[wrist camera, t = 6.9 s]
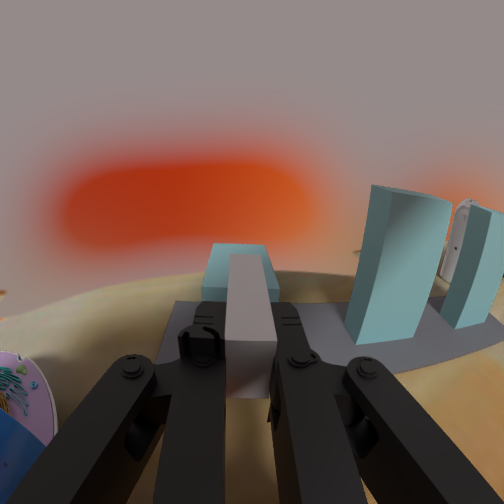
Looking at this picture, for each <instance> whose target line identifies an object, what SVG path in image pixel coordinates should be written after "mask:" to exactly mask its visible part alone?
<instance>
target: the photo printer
mask: <svg viewBox="0 0 504 504" xmlns="http://www.w3.org/2000/svg"><path fill="white" fill-rule="evenodd" d="M471 204H473V205H477V206H480V204H479V203H478V202H477V201H476V200H472V199H470V198H467V199H465V200H463V201H462V202H461V203H460V204H459V205H458V206H457V208H456V210H455V213H454V218H453V223H452V228H451V232H450V237H449V241H448V245H447V249H446V253H445V256H444V260H443V263H442V267H441V270H440V276H441V278H442V279H443V280H445V281H446V282H448V283H451V281H452V278H453V274H454V271H455V268H456V265H457V261H458V258H459V254H460V250H461V247H462V243H463V239H464V234H465V230H466V226H467V221H468V216H469V211H470V205H471Z"/></svg>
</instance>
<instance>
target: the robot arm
mask: <svg viewBox="0 0 504 504" xmlns="http://www.w3.org/2000/svg"><path fill="white" fill-rule="evenodd" d="M503 275H504V274H503ZM177 338H178V345H179V353H180V358H179V359H177V360H175V361H173V362H169V363H164V364H156V365H153V363H152V362H151V361H150V359H148V358H146V357H144V356H142V355H136V354H133V355H126V356H124V357H121V358H119V359H118V360H117V361H115V362H114V363H113V364H112V366H111V367H110V368H109V369H108V370H107V372H106V373H105V374H104V375H103V376H102V378H101V379H100V380H99V381H98V382H97V384H96V385H95V386H94V387H93V388H92V390H91V391H90V392H89V393H88V395H87V396H86V397H85V398H84V399H83V401H82V402H81V403H80V404H79V406H78V407H77V408H76V409H75V411H74V412H73V413H72V414H71V416H70V417H69V418H68V419H67V421H66V422H65V423H64V424H63V426H62V427H61V428H60V430H59V431H58V432H57V433H56V435H55V436H54V437H53V439H52V440H51V441H50V443H49V444H48V445H47V446H46V448H45V449H44V450H43V452H42V453H41V454H40V456H39V457H38V458H37V460H36V461H35V462H34V464H33V465H32V467H31V468H30V469H29V471H28V472H27V473H26V475H25V476H24V478H23V479H22V480H21V482H20V483H19V485H18V486H17V487H16V489H15V490H14V492H13V493H12V495H11V496H10V497H9V499H8V500H7V502H6V503H5V504H126V502H127V500H128V498H129V496H130V495H131V493H132V491H133V489H134V487H135V485H136V483H137V481H138V479H139V478H140V476H141V474H142V472H143V470H144V468H145V466H146V464H147V462H148V460H149V458H150V457H151V455H152V453H153V451H154V449H155V447H156V445H157V443H158V441H159V439H160V437H161V436H162V434H163V432H164V430H165V432H164V437H163V443H162V448H161V454H160V460H159V466H158V472H157V478H156V484H155V491H154V498H153V504H225V425H226V398H268V397H269V391H270V398H271V403H270V408H269V414H268V419H267V422H271V430H272V439H273V448H274V457H275V466H276V475H277V483H278V492H279V501H280V504H368V502H367V499H366V495H365V492H364V488H363V485H362V482H361V478H362V480H363V482H364V483H365V485H366V486H367V488H368V489H369V491H370V492H371V494H372V495H373V497H374V499H375V500H376V502H377V503H378V504H504V502H503V501H502V499H501V498H500V497H499V496H498V494H497V493H496V492H495V491H494V490H493V488H492V487H491V486H490V485H489V484H488V482H487V481H486V480H485V479H484V478H483V476H482V475H481V474H480V473H479V472H478V470H477V469H476V468H475V467H474V466H473V465H472V463H471V462H470V461H469V460H468V459H467V458H466V456H465V455H464V454H463V453H462V452H461V451H460V449H459V448H458V447H457V446H456V445H455V444H454V443H453V441H452V440H451V439H450V438H449V437H448V436H447V435H446V433H445V432H444V431H443V430H442V429H441V428H440V427H439V425H438V424H437V423H436V422H435V421H434V420H433V419H432V418H431V416H430V415H429V414H428V413H427V412H426V411H425V410H424V409H423V408H422V406H421V405H420V404H419V403H418V402H417V401H416V400H415V399H414V398H413V396H412V395H411V394H410V393H409V392H408V391H407V390H406V389H405V388H404V387H403V385H402V384H401V383H400V382H399V381H398V380H397V379H396V378H395V377H394V376H393V375H392V373H391V372H390V371H389V370H388V369H387V368H386V367H385V366H384V365H383V364H382V363H381V362H379V361H378V360H376V359H374V358H371V357H366V356H361V357H356V358H354V359H352V360H350V362H349V363H348V365H347V366H341V365H335V364H330V363H326V362H324V361H322V360H321V358H320V356H319V355H318V353H316V352H315V351H313V350H312V349H310V346H309V343H308V340H307V337H306V334H305V331H304V328H303V325H302V322H301V319H300V316H299V313H298V310H297V309H296V308H295V307H294V306H293V305H292V304H291V303H290V302H270V300H269V295H268V290H267V285H266V279H265V274H264V269H263V264H262V259H261V255H252V254H230V264H229V278H228V292H227V302H216V301H202V302H201V303H200V304H199V305H198V306H197V307H196V311H195V315H194V319H193V324H192V325H191V326H187V327H186V328H184V329H183V330H181V331H180V333H179V334H178V336H177ZM360 477H361V478H360Z"/></svg>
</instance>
